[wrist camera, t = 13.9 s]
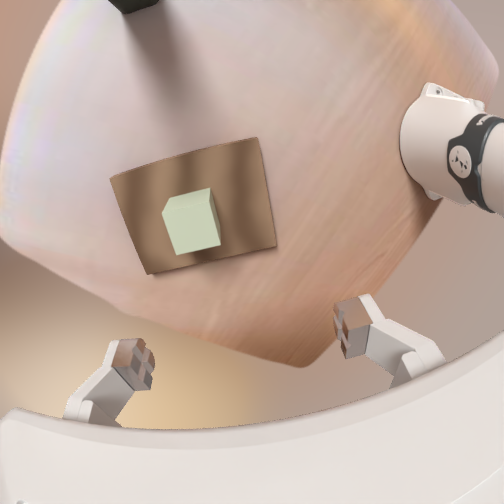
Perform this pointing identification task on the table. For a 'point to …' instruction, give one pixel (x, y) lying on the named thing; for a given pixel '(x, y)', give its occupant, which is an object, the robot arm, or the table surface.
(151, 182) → the serving board
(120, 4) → the black and grey rod
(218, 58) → the table surface
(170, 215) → the cube
